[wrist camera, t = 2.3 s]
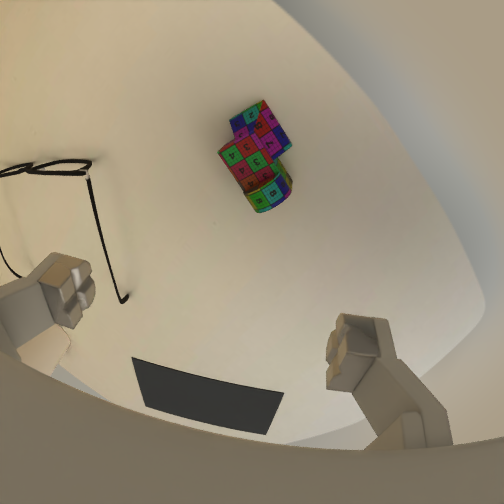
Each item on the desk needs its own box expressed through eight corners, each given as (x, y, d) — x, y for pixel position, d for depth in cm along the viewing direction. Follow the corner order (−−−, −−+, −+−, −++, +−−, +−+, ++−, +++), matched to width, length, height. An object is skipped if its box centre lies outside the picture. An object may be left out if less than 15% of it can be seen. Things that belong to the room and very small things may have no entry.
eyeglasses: (114, 149, 22) (85, 166, 19) (142, 302, 31) (126, 329, 28) (-1, 161, 24) (-27, 176, 21) (35, 279, 33) (17, 299, 29)
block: (308, 172, 21) (309, 190, 18) (259, 197, 23) (252, 218, 20) (263, 99, 19) (256, 104, 16) (213, 129, 21) (198, 140, 18)
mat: (284, 393, 36) (284, 393, 36) (265, 434, 44) (265, 434, 44) (131, 357, 37) (131, 357, 37) (145, 405, 45) (145, 406, 45)
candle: (40, 309, 36) (-17, 386, 24) (74, 338, 38) (24, 420, 25) (34, 326, 39) (-15, 396, 27) (65, 352, 41) (21, 425, 28)
